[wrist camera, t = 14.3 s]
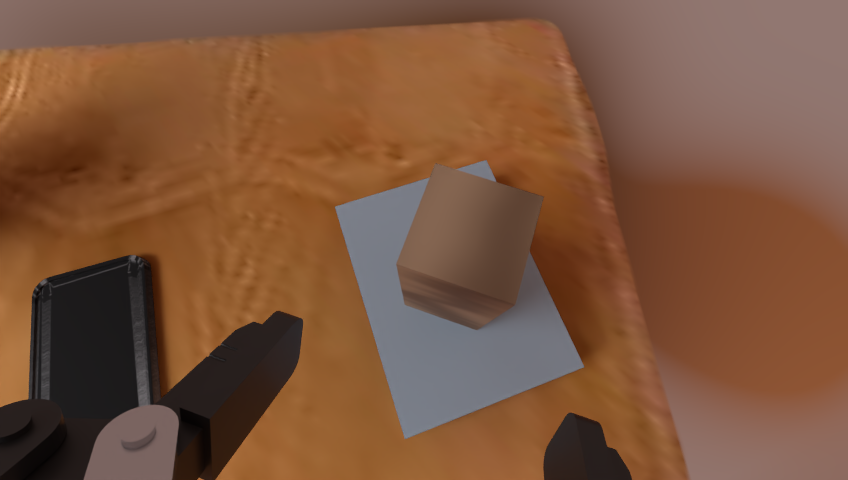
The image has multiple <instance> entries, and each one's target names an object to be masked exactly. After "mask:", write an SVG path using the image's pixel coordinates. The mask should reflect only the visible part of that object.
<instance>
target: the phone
mask: <svg viewBox="0 0 848 480" xmlns="http://www.w3.org/2000/svg"><path fill="white" fill-rule="evenodd" d="M29 399H46V400H51V401H53V402H55V403H56V404H58V405H59V407H60V408H61V411H62V414H63V418H87V419H115V418H116V417H117V416H119V415H121V414H123V413H124V412H127V411H129V410H131V409H134V408H137V407H141V406H146V405H153V404H155V403H156V402H158V401H159V400H160V399H161V394H160V381H159V368H158V355H157V342H156V329H155V315H154V302H153V289H152V276H151V267H150V264H149V262H148V261H147V260H145V259H143V258H141V257H138V256H134V255H129V256H124V257H121V258H117V259H113V260H110V261H106V262H103V263H99V264H95V265H92V266H88V267H85V268H81V269H77V270H74V271H70V272H66V273H63V274H59V275H56V276H52V277H49V278H46V279H44V280H43V281H41V282H40V283H39V284H38V285H37V286H36V288H35V289H34V291H33V295H32V316H31V345H30V373H29Z"/></svg>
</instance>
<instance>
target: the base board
mask: <svg viewBox="0 0 848 480" xmlns="http://www.w3.org/2000/svg"><path fill="white" fill-rule="evenodd" d="M456 170H459V171H463V172H466V173H469V174H472V175H475V176H479V177H482V178H485V179H488V180H492V181H495V182H496V180H495V177H494V175H493V173H492V171H491V169H490V167H489V165H488V163H487V161H486V160H485V161H482V162H478V163H475V164H472V165H469V166H465V167H462V168H459V169H456ZM428 181H429V178H426V179H423V180H420V181H417V182H413V183H410V184H407V185H404V186H401V187H397V188H394V189H391V190H388V191H384V192H381V193H378V194H375V195H371V196H368V197H365V198H362V199H358V200H355V201H352V202H349V203H345V204H342V205H339V206H336V207H335V209H336V212H337V215H338V219H339V222H340V225H341V229H342V232H343V235H344V239H345V242H346V245H347V248H348V252H349V255H350V258H351V262H352V265H353V268H354V272H355V275H356V278H357V282H358V285H359V288H360V292H361V295H362V298H363V302H364V305H365V308H366V311H367V315H368V318H369V321H370V325H371V328H372V331H373V335H374V338H375V341H376V345H377V348H378V351H379V355H380V358H381V361H382V364H383V368H384V371H385V374H386V378H387V381H388V384H389V388H390V391H391V394H392V398H393V401H394V404H395V408H396V411H397V414H398V418H399V421H400V424H401V427H402V431H403V434H404V437H405V439H407V438H409V437H412V436H414V435H417V434H419V433H421V432H424V431H426V430H429V429H431V428H434V427H436V426H439V425H441V424H444V423H446V422H449V421H451V420H454V419H456V418H459V417H461V416H464V415H466V414H469V413H471V412H474V411H476V410H479V409H481V408H484V407H486V406H489V405H491V404H494V403H496V402H499V401H501V400H504V399H506V398H509V397H511V396H514V395H516V394H519V393H521V392H524V391H526V390H529V389H531V388H534V387H536V386H539V385H541V384H543V383H546V382H548V381H551V380H553V379H556V378H558V377H561V376H563V375H566V374H568V373H571V372H573V371H576V370H578V369H581V368H583V367H584V365H583V363H582V361H581V359H580V357H579V355H578V353H577V350H576V348H575V346H574V344H573V342H572V340H571V338H570V336H569V334H568V331H567V329H566V327H565V325H564V323H563V321H562V319H561V317H560V315H559V312H558V310H557V308H556V306H555V304H554V302H553V300H552V298H551V296H550V293H549V291H548V289H547V287H546V285H545V283H544V281H543V279H542V277H541V274H540V272H539V270H538V268H537V266H536V264H535V262H534V260H533V258H532V255H531V253H530V251H529V255H528V258H527V262H526V266H525V270H524V274H523V278H522V281H521V285H520V289H519V293H518V297H517V300H516V304H515V305H514V306H513V307H511V308H510V309H508V310H507V311H505V312H504V313H502V314H501V315H499V316H498V317H496V318H495V319H493V320H492V321H490V322H489V323H487V324H486V325H484V326H482V327H481V328H479V329H478V330H474V329H471V328H469V327H466V326H463V325H460V324H457V323H454V322H452V321H449V320H446V319H443V318H440V317H438V316H435V315H432V314H429V313H426V312H423V311H421V310H418V309H415V308H412V307H409V306H406V305H405V304H404V299H403V294H402V290H401V285H400V280H399V275H398V270H397V266H396V263H397V260H398V258H399V255H400V253H401V250H402V248H403V245H404V242H405V240H406V237H407V235H408V232H409V230H410V227H411V225H412V222H413V219H414V217H415V214H416V212H417V209H418V207H419V204H420V201H421V199H422V196H423V194H424V191H425V189H426V186H427V183H428Z"/></svg>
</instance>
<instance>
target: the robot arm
mask: <svg viewBox="0 0 848 480" xmlns="http://www.w3.org/2000/svg"><path fill="white" fill-rule="evenodd" d="M302 328H303V320H302V319H301V318H299V317H296V316H293V315H290V314H287V313H284V312H281V311H276V312H275V313H273V314H272V315H271V316H270V317H269V318H268V319H267V320H266V321H265V322H264V323H263V324H259V323H256V322H252V323H250V324H248V325H246V326H243V327H241V328H239V329H237V330H235V331H234V332H233V333H232V334H231V335H230V336H229V337H228V338H227V339H225V340H224V341H223V342H222V343H221V345H220V346H218V347H217V348H216V349H215V350H213V351H212V352H211V353H210V355H209V357H206V358H205V359H204V360H203V361H202V362H200V363H199V364H198V365H197V366H196V367H195V368H194V369H193V370H192V371H191V372H190V373H188V374H187V375H186V376H185V377H184V378H183V379H182V380H181V381H180V382H179V383H178V384H177V385H175V386H174V387H173V388H172V389H171V390H170V391H169V392H168V393H167V394H166V395H165V396H164V397H162V398H161V399H160V400H159V401H158V402H156V403H155V404H153V405H146V406H141V407H137V408H134V409H131V410H129V411H127V412H124V413H123V414H121V415H119V416H117V417H116V418H115V419H87V418H63V414H62V411H61V408H60V407H59V405H58V404H56V403H55V402H53V401H51V400H46V399H28V400H22V401H18V402H14V403H11V404H8V405H5V406H3V407H0V480H197V479H198V478H202V479H204V480H215V479H216V478H217V476H218V475H219V474H220V472H221V471H222V470H223V468H224V467H225V465H226V464H227V463H228V461H229V460H230V459H231V457H232V456H233V455H234V453H235V452H236V450H237V449H238V448H239V446H240V445H241V444H242V442H243V441H244V440H245V438H246V437H247V435H248V434H249V433H250V431H251V430H252V429H253V427H254V426H255V425H256V423H257V422H258V420H259V419H260V418H261V416H262V415H263V414H264V412H265V411H266V409H267V408H268V407H269V405H270V404H271V403H272V401H273V400H274V399H275V397H276V396H277V394H278V393H279V392H280V390H281V389H282V388H283V386H284V385H285V384H286V382H287V381H288V379H289V378H290V377H291V375H292V373H293V372H294V370H295V368H296V365H297V363H298V360H299V355H300V346H301V337H302ZM544 480H632V478H631V475H630V472H629V470H628V468H627V467H626V465H625V464H624V462H623V460H622V459H621V457H620V456H619V454H618V452H617V451H616V450H615V449H613V448H610V447H607V445H606V441H605V437H604V434H603V430H602V427H601V425H600V423H599V422H597V421H594V420H591V419H588V418H585V417H582V416H579V415H576V414H574V413H568V414H567V415H566V417H565V418H564V420H563V422H562V423H561V425H560V426H559V428H558V430H557V431H556V433H555V435H554V436H553V438H552V439H551V441H550V443H549V444H548V446H547V449H546V452H545V456H544Z"/></svg>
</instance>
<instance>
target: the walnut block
mask: <svg viewBox="0 0 848 480" xmlns="http://www.w3.org/2000/svg"><path fill="white" fill-rule="evenodd" d="M543 198H544V197H543V196H540V195H537V194H533V193H530V192H527V191H524V190H520V189H517V188H514V187H511V186H508V185H504V184H501V183H498V182H495V181H492V180H488V179H485V178H482V177H479V176H475V175H472V174H469V173H466V172H463V171H459V170H456V169H453V168H450V167H446V166H443V165H440V164H437V163H435V165H434V168H433V171H432V173H431V176H430V178H429V181H428V183H427V186H426V189H425V191H424V194H423V196H422V199H421V201H420V204H419V207H418V209H417V212H416V214H415V217H414V219H413V222H412V225H411V227H410V230H409V232H408V235H407V237H406V240H405V242H404V245H403V248H402V250H401V253H400V255H399V258H398V260H397V263H396V266H397V270H398V275H399V280H400V285H401V290H402V294H403V299H404V304H405V305H406V306H409V307H412V308H415V309H418V310H421V311H423V312H426V313H429V314H432V315H435V316H438V317H440V318H443V319H446V320H449V321H452V322H454V323H457V324H460V325H463V326H466V327H469V328H471V329H474V330H478V329H479V328H481V327H482V326H484V325H486V324H487V323H489V322H490V321H492V320H493V319H495V318H496V317H498V316H499V315H501V314H502V313H504V312H505V311H507V310H508V309H510V308H511V307H513V306H514V305H515V304H516V300H517V297H518V293H519V289H520V285H521V281H522V278H523V274H524V270H525V266H526V262H527V258H528V255H529V251H530V247H531V243H532V239H533V236H534V232H535V228H536V224H537V220H538V217H539V213H540V209H541V205H542V201H543Z"/></svg>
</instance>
